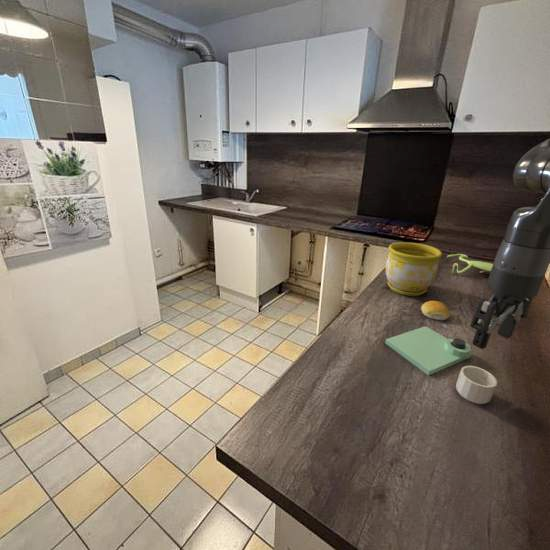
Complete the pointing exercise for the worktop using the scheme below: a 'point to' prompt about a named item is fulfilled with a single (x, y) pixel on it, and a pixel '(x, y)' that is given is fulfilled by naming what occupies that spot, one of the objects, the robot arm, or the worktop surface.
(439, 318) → the bread roll
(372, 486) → the worktop surface
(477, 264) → the figurine
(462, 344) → the power button
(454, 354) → the scale
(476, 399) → the bowl
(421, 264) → the flowerpot
